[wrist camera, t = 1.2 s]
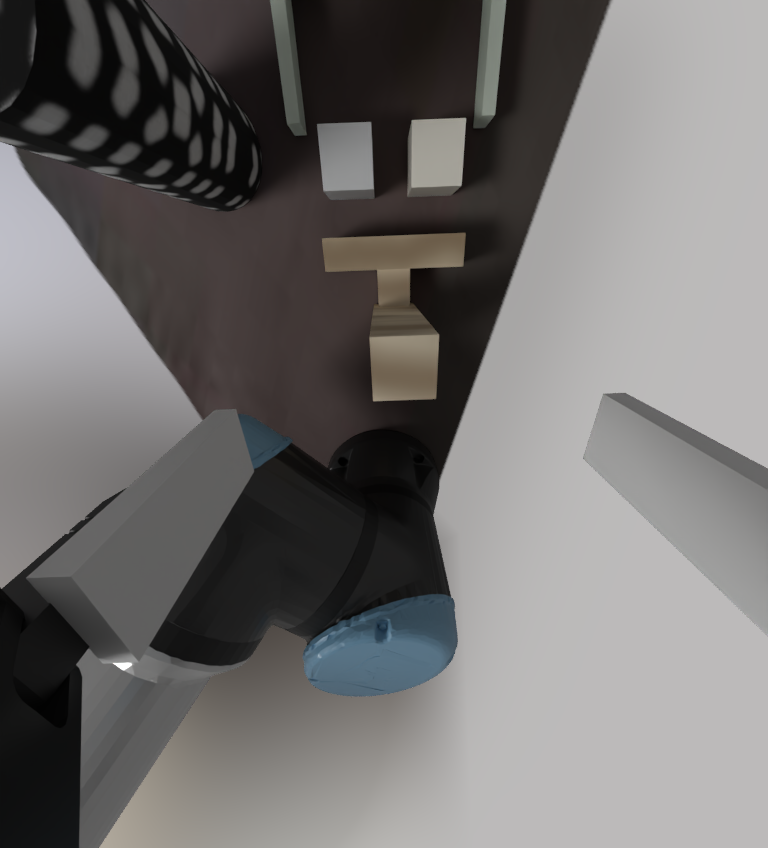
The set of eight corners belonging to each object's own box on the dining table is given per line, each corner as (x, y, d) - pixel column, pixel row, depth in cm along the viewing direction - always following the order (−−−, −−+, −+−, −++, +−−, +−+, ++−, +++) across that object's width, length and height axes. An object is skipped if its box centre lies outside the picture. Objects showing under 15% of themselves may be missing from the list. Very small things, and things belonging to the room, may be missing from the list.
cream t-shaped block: (448, 340, 34) (499, 396, 19) (339, 344, 34) (310, 403, 19) (455, 236, 29) (527, 210, 15) (328, 241, 29) (280, 220, 15)
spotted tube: (217, 59, 24) (-265, -547, 6) (281, 179, 27) (97, 23, 9) (139, 124, 25) (-420, -199, 8) (208, 230, 29) (-64, 176, 11)
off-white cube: (451, 195, 28) (461, 185, 24) (407, 197, 28) (411, 187, 24) (454, 137, 26) (466, 117, 23) (407, 139, 26) (411, 120, 23)
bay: (485, 127, 26) (494, 115, 23) (294, 135, 26) (286, 123, 24) (499, -32, 22) (512, -66, 20) (274, -22, 22) (262, -55, 20)
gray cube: (374, 198, 28) (373, 189, 24) (330, 200, 28) (323, 191, 24) (372, 140, 26) (371, 121, 23) (325, 142, 26) (316, 124, 23)
